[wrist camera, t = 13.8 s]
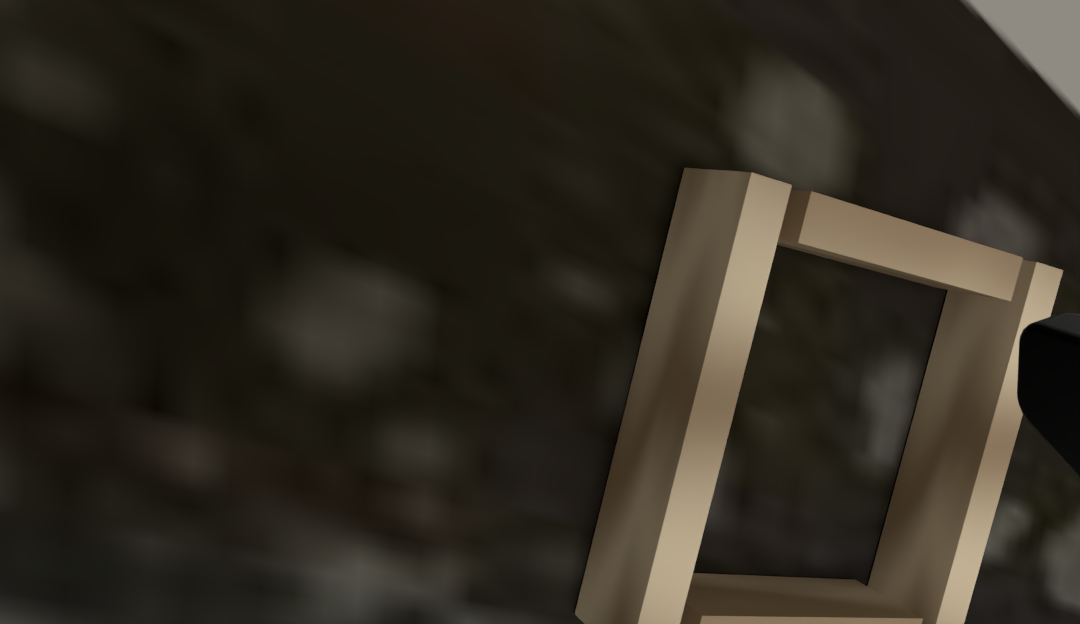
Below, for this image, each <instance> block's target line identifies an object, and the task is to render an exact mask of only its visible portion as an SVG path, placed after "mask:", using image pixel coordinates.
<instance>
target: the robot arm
mask: <svg viewBox="0 0 1080 624" xmlns="http://www.w3.org/2000/svg"><path fill="white" fill-rule="evenodd" d="M1017 399H1018V403H1019V406H1020V409H1021V411H1022V413H1023V415H1024V416H1025V418H1026V419H1027V420H1028V422H1029V423H1030V424H1031V425H1032V426H1033V427H1034V428H1035V429H1036V431H1037V432H1038V433H1039V434H1040V435H1041V436H1042V437H1043V438H1044V439H1045V440H1046V441H1047V443H1048V444H1049V445H1050V446H1051V447H1052V448H1053V449H1054V450H1055V451H1056V452H1057V453H1058V455H1059V456H1060V457H1061V458H1062V459H1063V460H1064V461H1065V462H1066V463H1067V464H1068V465H1069V467H1070V468H1071V469H1072V470H1073V471H1074V472H1075V473H1076V474H1077V475H1078V476H1079V477H1080V314H1073V313H1062V314H1057V315H1054V316H1051V317H1048V318H1045V319H1042V320H1039V321H1036V322H1034V323H1031V324H1029V325H1028V326H1027V327H1025V328H1024V329H1023V331H1022V333H1021V335H1020V340H1019V357H1018V381H1017Z"/></svg>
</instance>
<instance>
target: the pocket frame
mask: <svg viewBox="0 0 1080 624" xmlns="http://www.w3.org/2000/svg"><path fill="white" fill-rule="evenodd" d="M791 187H792V185H790V184H787V183H784V182H781V181H778V180H774V179H771V178H768V177H765V176H762V175H758V174H755V173H752V172H739V171H725V170H710V169H696V168H684V171H683V175H682V179H681V183H680V187H679V191H678V195H677V200H676V204H675V208H674V212H673V216H672V220H671V224H670V228H669V232H668V236H667V240H666V244H665V248H664V252H663V256H662V261H661V265H660V269H659V273H658V277H657V281H656V285H655V289H654V293H653V297H652V301H651V305H650V309H649V313H648V317H647V322H646V326H645V330H644V334H643V338H642V342H641V346H640V350H639V354H638V358H637V362H636V366H635V370H634V374H633V378H632V383H631V387H630V391H629V395H628V399H627V403H626V407H625V411H624V415H623V419H622V423H621V427H620V431H619V435H618V439H617V444H616V448H615V452H614V456H613V460H612V464H611V468H610V472H609V476H608V480H607V484H606V488H605V492H604V496H603V500H602V505H601V509H600V513H599V517H598V521H597V525H596V529H595V533H594V537H593V541H592V545H591V549H590V553H589V557H588V561H587V566H586V570H585V574H584V578H583V582H582V586H581V590H580V594H579V598H578V602H577V606H576V610H575V615H576V616H577V617H578V618H579V619H580V620H581V621H582V622H583V623H584V624H964V622H965V618H966V614H967V611H968V607H969V604H970V600H971V597H972V593H973V589H974V586H975V582H976V579H977V575H978V572H979V568H980V565H981V561H982V557H983V554H984V550H985V547H986V543H987V540H988V536H989V533H990V529H991V525H992V522H993V518H994V515H995V511H996V508H997V504H998V500H999V497H1000V493H1001V490H1002V486H1003V483H1004V479H1005V476H1006V472H1007V468H1008V465H1009V461H1010V458H1011V454H1012V451H1013V447H1014V444H1015V440H1016V436H1017V433H1018V429H1019V426H1020V422H1021V419H1022V415H1023V413H1022V411H1021V409H1020V406H1019V403H1018V399H1017V381H1018V357H1019V340H1020V335H1021V333H1022V331H1023V329H1024V328H1025V327H1027V326H1028V325H1029V324H1031V323H1034V322H1036V321H1039V320H1042V319H1045V318H1048V317H1050V315H1051V312H1052V308H1053V305H1054V301H1055V298H1056V294H1057V290H1058V287H1059V283H1060V280H1061V276H1062V273H1063V270H1060V269H1057V268H1054V267H1051V266H1048V265H1044V264H1041V263H1038V262H1033V261H1026V260H1023V258H1022V257H1019V256H1016V255H1013V254H1009V253H1006V252H1003V251H1000V250H997V249H994V248H990V247H987V246H984V245H981V244H978V243H975V242H971V241H968V240H965V239H962V238H959V237H955V236H952V235H949V234H946V233H943V232H940V231H936V230H933V229H930V228H927V227H924V226H920V225H917V224H914V223H911V222H908V221H905V220H901V219H898V218H895V217H892V216H889V215H886V214H882V213H879V212H876V211H873V210H870V209H866V208H863V207H860V206H857V205H854V204H851V203H847V202H844V201H841V200H838V199H835V198H832V197H828V196H825V195H822V194H819V193H816V192H812V191H804V190H792V189H791ZM777 245H780V246H784V247H788V248H791V249H795V250H799V251H802V252H806V253H810V254H814V255H817V256H821V257H825V258H828V259H832V260H836V261H839V262H843V263H847V264H851V265H854V266H858V267H862V268H865V269H869V270H873V271H876V272H880V273H884V274H888V275H891V276H895V277H899V278H902V279H906V280H910V281H913V282H917V283H921V284H925V285H928V286H932V287H936V288H942V289H947V290H948V292H947V295H946V299H945V303H944V306H943V310H942V314H941V317H940V321H939V325H938V328H937V332H936V336H935V340H934V343H933V347H932V351H931V354H930V358H929V362H928V365H927V369H926V373H925V376H924V380H923V384H922V387H921V391H920V395H919V398H918V402H917V406H916V410H915V413H914V417H913V421H912V424H911V428H910V432H909V435H908V439H907V443H906V446H905V450H904V454H903V457H902V461H901V465H900V468H899V472H898V476H897V480H896V483H895V487H894V491H893V494H892V498H891V502H890V505H889V509H888V513H887V516H886V520H885V524H884V527H883V531H882V535H881V538H880V542H879V546H878V550H877V553H876V557H875V561H874V564H873V568H872V572H871V575H870V579H869V583H868V586H866V585H864V584H862V583H860V582H859V581H857V580H854V579H829V578H804V577H780V576H755V575H730V574H705V573H693V571H694V567H695V563H696V559H697V555H698V551H699V547H700V543H701V539H702V535H703V532H704V528H705V524H706V520H707V516H708V512H709V508H710V504H711V500H712V496H713V492H714V489H715V485H716V481H717V477H718V473H719V469H720V465H721V461H722V457H723V453H724V449H725V445H726V442H727V438H728V434H729V430H730V426H731V422H732V418H733V414H734V410H735V406H736V402H737V399H738V395H739V391H740V387H741V383H742V379H743V375H744V371H745V367H746V363H747V359H748V355H749V352H750V348H751V344H752V340H753V336H754V332H755V328H756V324H757V320H758V316H759V312H760V308H761V305H762V301H763V297H764V293H765V289H766V285H767V281H768V277H769V273H770V269H771V265H772V262H773V258H774V254H775V250H776V246H777Z"/></svg>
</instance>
